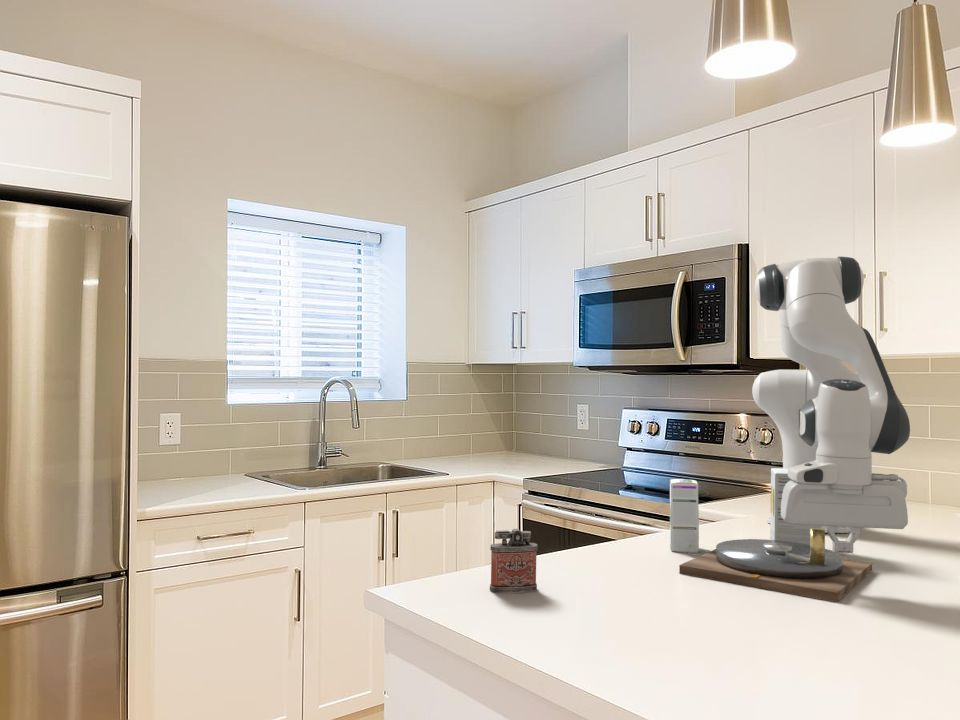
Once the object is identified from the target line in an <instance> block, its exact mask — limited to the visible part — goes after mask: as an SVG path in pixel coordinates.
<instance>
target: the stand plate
mask: <svg viewBox="0 0 960 720" xmlns="http://www.w3.org/2000/svg"><path fill="white" fill-rule="evenodd" d="M678 571H679V573H678V574H681V575H688V576H693V577H698V578H704V579H709V580H715V581H719V582H720V581H721V582H725V583H730V584H737V585H741V586H747V587H753V588H758V589H762V590H763V589H764V590H769V591H775V592H780V593H785V594H790V595H791V594H792V595H794V596H795V595H796V596H802V597H808V598H813V599H818V600H823V601H829V602H833V603H834V602H835V603H838V602H839V601H841V600H842V598H844V597H845V596H846V595H847V594H848V593H850V591H852V590H853V589H854V588H855V587H857V585H858V584H859V583H860V582H861V581H863V580H864V579H865V578H866V577H867V576H868V575H870V573H872V572H873V562H868V561H862V560H861V561H860V560H854V559H847V558H843V559H842V572H841V573H839V574H837V575H834V576H828V577H819V578H793V577H780V576H771V575H764V574H758V573H752V572H748V571H743V570H739V569H736V568H732V567H729V566H727V565H725V564H722V563H721V562H719V561H718V560H717V559H716V548H715V549H712V550H710V551H708V552H706V553H704V554H702V555H701V554H700V555H699V556H696V557H694V558H692V559H690V560H687V561H686V562H684V563H681V564H679V569H678Z"/></svg>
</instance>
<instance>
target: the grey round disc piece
mask: <svg viewBox="0 0 960 720" xmlns="http://www.w3.org/2000/svg"><path fill="white" fill-rule="evenodd" d="M715 549H716V559H717V560H718V561H719V562H721V563H722V564H725V565H727V566H729V567H732V568H736V569H739V570H743V571H748V572H752V573H758V574H764V575H771V576H780V577H793V578H819V577H828V576H834V575H837V574H839V573H841V572H842V559H844V558H843V556H842V555H840V554H839V553H838V552H834V551H833V550H831V549H828V548H826V533H825V529H821V528H810V545H807V544H802V543H795V542H788V541H778V540H770V539H763V538H762V539H761V538H758V539H757V538H755V539H754V538H747V539H746V538H745V539H744V538H743V539H731V540H725V541H721V542H719V543H717V544H716V546H715Z"/></svg>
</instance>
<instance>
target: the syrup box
mask: <svg viewBox="0 0 960 720" xmlns="http://www.w3.org/2000/svg"><path fill="white" fill-rule="evenodd" d="M699 515H700V514H699V483H698V482H697V480H695V479H687V478H677V479H676V478H675V479H669V547H670V550H671V552H675V551H676V553H677V552H678V553H687V552H688V553H689V554H690V553H691V554H699V549H700V548H699V547H700V546H699V545H700V544H699V543H700V542H699V540H700V536H699V535H700V532H699V530H700V529H699V527H700V524H699V521H700V519H699V518H700V517H699ZM688 553H687V554H688Z"/></svg>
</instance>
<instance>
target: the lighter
mask: <svg viewBox="0 0 960 720" xmlns="http://www.w3.org/2000/svg"><path fill="white" fill-rule="evenodd" d="M531 538H532V532H531V531H530V530H522V531H521V530H520V529H518V528H513V529H512V530H511V531H510V530H507V529H506V530H496V531H494V539H496V540H501V542H498V543H491V544H490V546H489V547H490V549H489V550H490V552H491V554H490V555H491V556H490V558H491V560H490V561H491V562H490V563H491V565H490V584H489V591H490V592H491V593H497V594H501V593H502V594H503V593H504V594H506V593H507V594H509V593H511V594H512V593H515V594H516V593H517V594H518V593H526V592H527V593H529V592H536V591H537V590H538V584H537V551H538V548H539V547H538V545H539V544H537V543H535V542H530V541H531Z"/></svg>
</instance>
